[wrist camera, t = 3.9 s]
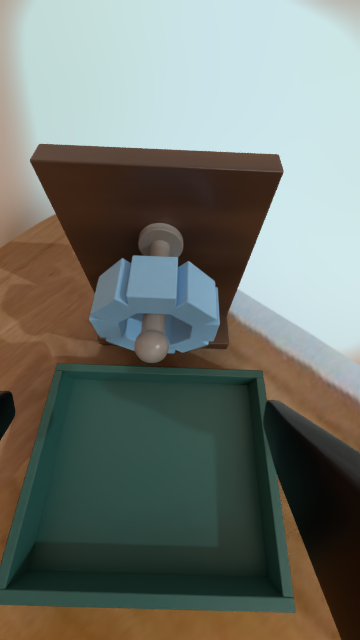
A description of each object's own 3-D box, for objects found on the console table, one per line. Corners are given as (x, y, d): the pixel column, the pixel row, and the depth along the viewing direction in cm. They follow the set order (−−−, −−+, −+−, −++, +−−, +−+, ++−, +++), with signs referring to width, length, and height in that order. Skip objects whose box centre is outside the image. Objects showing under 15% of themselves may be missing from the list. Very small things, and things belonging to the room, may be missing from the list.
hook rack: (230, 404, 21) (329, 321, 8) (89, 399, 21) (-57, 307, 8) (223, 300, 26) (276, 142, 13) (110, 296, 26) (44, 132, 13)
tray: (275, 586, 16) (296, 613, 13) (20, 579, 15) (-12, 605, 13) (252, 380, 22) (262, 370, 19) (70, 373, 22) (56, 362, 19)
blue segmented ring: (208, 355, 17) (229, 300, 11) (108, 351, 17) (72, 294, 11) (207, 323, 18) (225, 258, 12) (114, 320, 18) (84, 252, 12)
